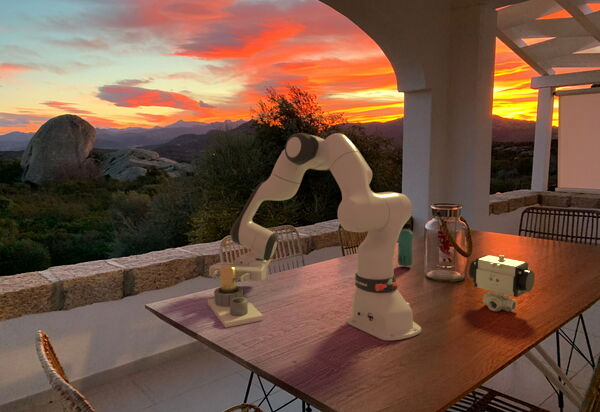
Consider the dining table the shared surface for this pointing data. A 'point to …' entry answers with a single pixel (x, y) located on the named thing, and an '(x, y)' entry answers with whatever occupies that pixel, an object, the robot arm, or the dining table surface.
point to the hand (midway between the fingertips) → (226, 278)
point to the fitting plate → (235, 319)
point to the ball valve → (501, 280)
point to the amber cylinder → (228, 279)
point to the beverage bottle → (405, 246)
